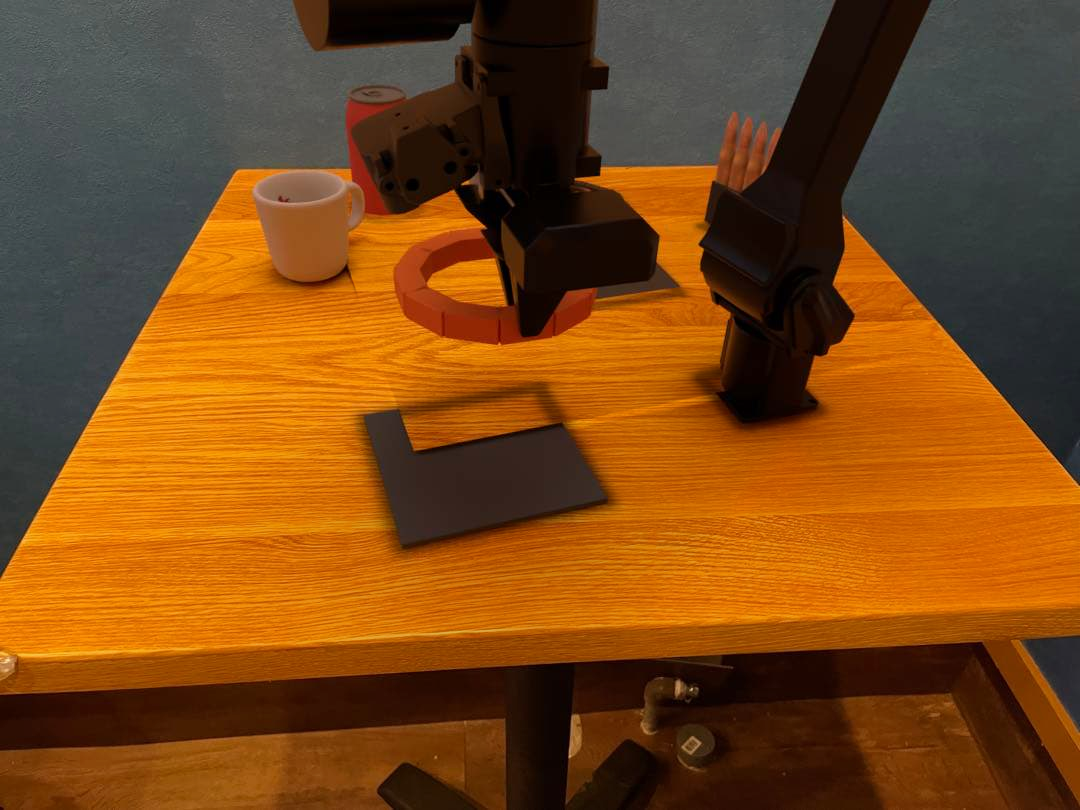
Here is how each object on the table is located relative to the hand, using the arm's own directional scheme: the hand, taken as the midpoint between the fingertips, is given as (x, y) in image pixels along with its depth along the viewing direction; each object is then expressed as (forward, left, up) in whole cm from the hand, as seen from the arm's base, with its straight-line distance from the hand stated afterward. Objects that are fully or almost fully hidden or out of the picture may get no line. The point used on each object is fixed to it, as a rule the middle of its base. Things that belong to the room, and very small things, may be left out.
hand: (524, 326), depth 47 cm
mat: (+2, +2, -11) cm, 12 cm away
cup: (+33, +8, -11) cm, 36 cm away
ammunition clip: (+26, -33, -11) cm, 44 cm away
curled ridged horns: (+38, -18, -11) cm, 43 cm away
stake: (+25, -15, -11) cm, 31 cm away
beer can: (+44, 0, -11) cm, 46 cm away
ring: (+5, 0, -1) cm, 5 cm away
